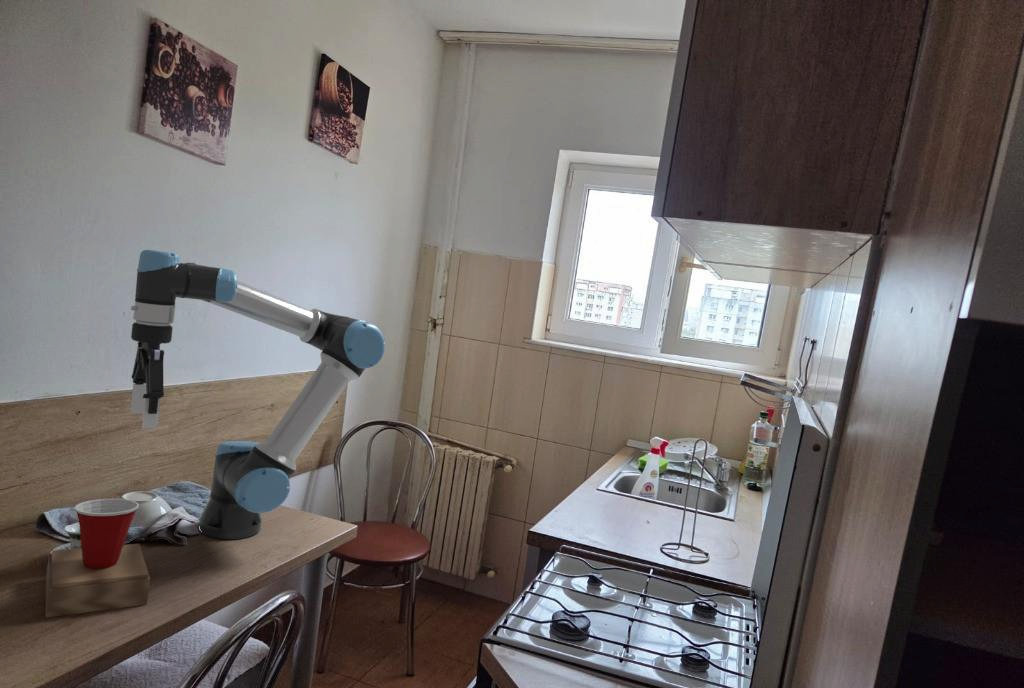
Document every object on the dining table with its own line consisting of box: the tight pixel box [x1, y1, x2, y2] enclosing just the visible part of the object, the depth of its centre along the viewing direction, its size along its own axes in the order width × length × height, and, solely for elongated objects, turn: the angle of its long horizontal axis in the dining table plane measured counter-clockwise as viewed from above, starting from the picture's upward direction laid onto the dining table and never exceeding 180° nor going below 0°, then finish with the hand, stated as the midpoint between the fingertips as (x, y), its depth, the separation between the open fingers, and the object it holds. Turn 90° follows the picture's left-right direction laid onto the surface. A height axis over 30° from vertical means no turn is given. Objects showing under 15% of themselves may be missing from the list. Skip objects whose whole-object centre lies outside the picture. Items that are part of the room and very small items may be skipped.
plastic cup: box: [74, 498, 140, 569], centre depth 124 cm, size 11×11×12 cm
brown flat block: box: [45, 543, 151, 618], centre depth 125 cm, size 16×16×6 cm
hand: (143, 420), depth 136 cm, fingers open, 13 cm apart
